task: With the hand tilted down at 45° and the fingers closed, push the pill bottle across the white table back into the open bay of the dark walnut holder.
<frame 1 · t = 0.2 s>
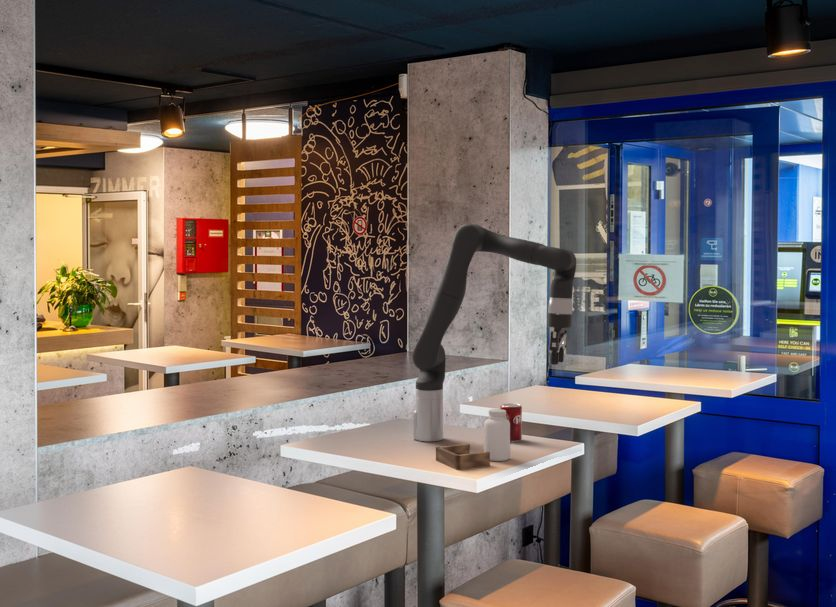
hand: (557, 363, 289), 28 cm above the table, tool pointing down, fingers open, 8 cm apart
holder: (464, 462, 275), on the table
pill bottle: (496, 459, 280), on the table
soda can: (510, 441, 307), on the table
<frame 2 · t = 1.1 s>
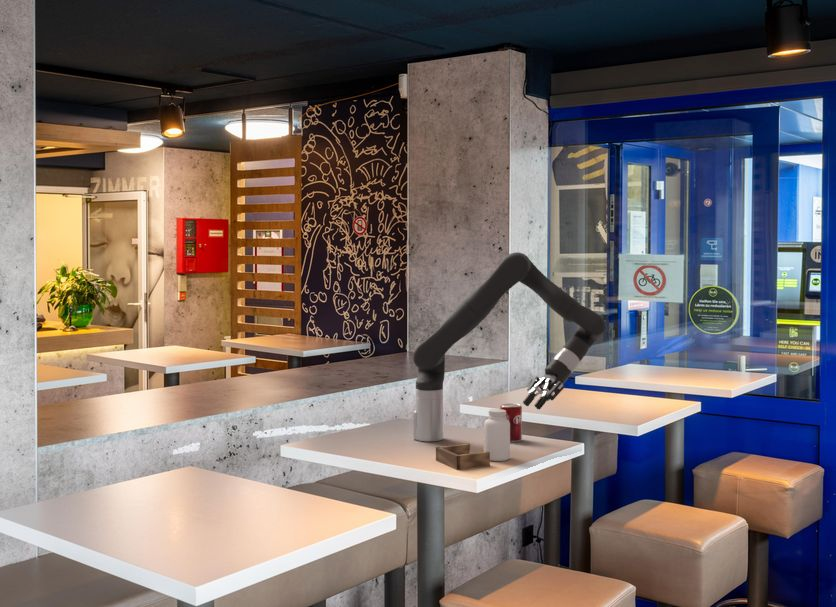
hand: (530, 405, 284), 15 cm above the table, tool tilted 45°, fingers open, 6 cm apart
nothing on the table moved.
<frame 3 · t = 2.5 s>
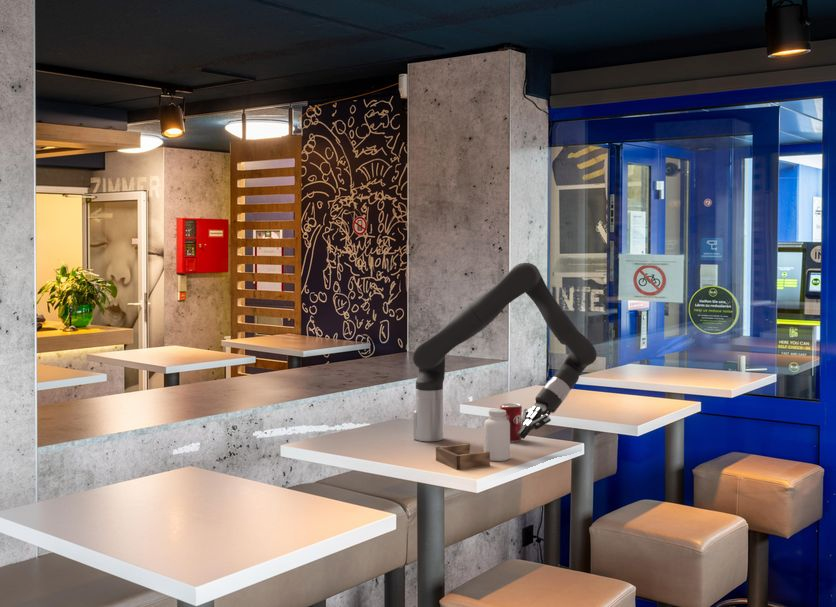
hand: (520, 436, 283), 6 cm above the table, tool tilted 45°, fingers closed
nothing on the table moved.
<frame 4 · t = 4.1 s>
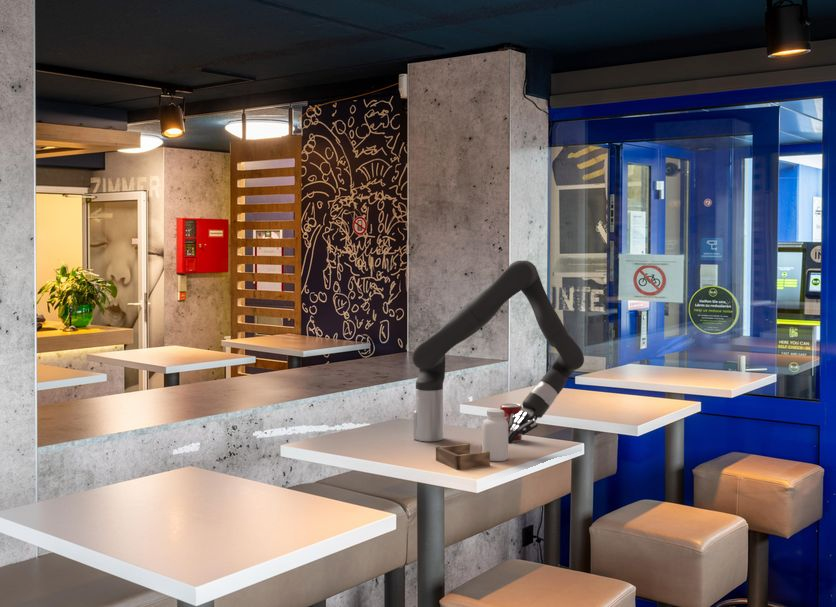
hand: (507, 441, 281), 5 cm above the table, tool tilted 45°, fingers closed
pill bottle: (495, 459, 280), on the table, touching gripper
everything else where it was.
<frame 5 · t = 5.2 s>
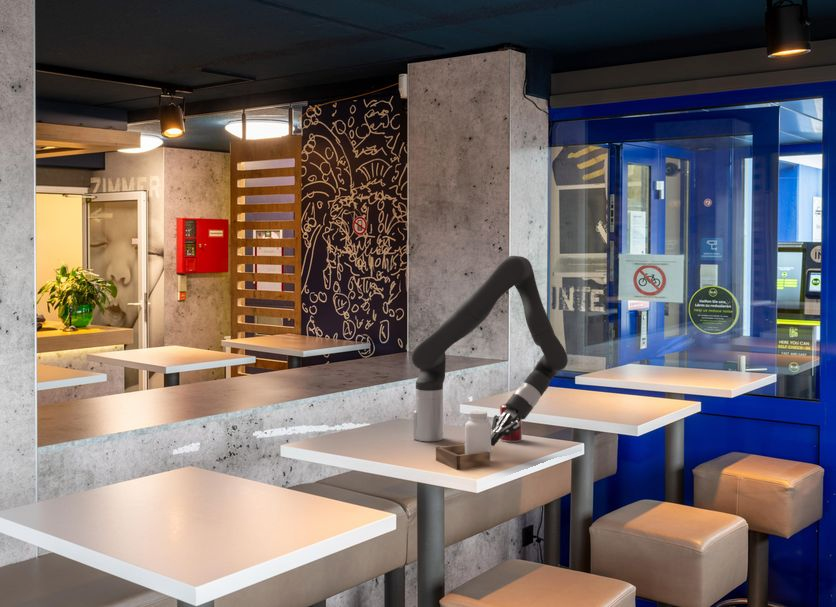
hand: (490, 443, 278), 5 cm above the table, tool tilted 45°, fingers closed
pill bottle: (477, 461, 277), on the table, touching gripper
everything else where it was.
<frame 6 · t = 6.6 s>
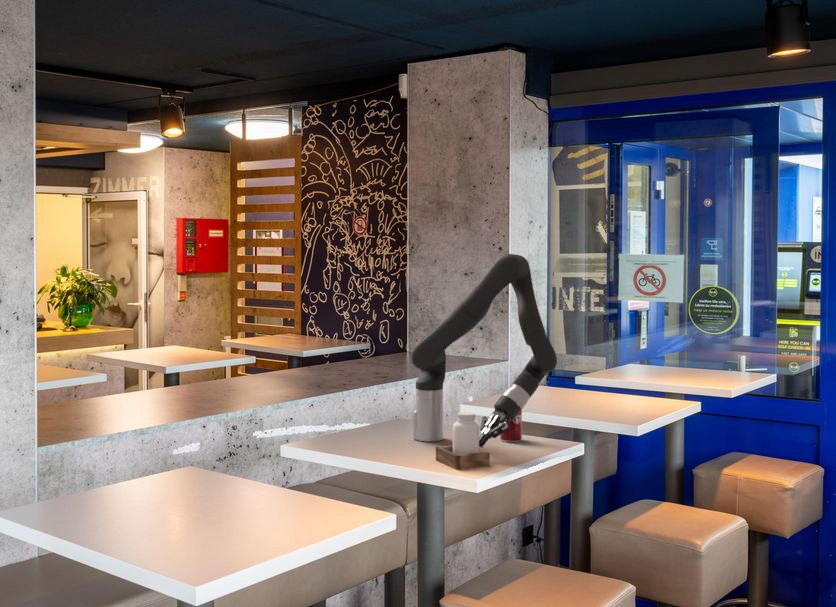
hand: (478, 445, 277), 5 cm above the table, tool tilted 45°, fingers closed
pill bottle: (465, 463, 275), on the table, touching gripper
everything else where it was.
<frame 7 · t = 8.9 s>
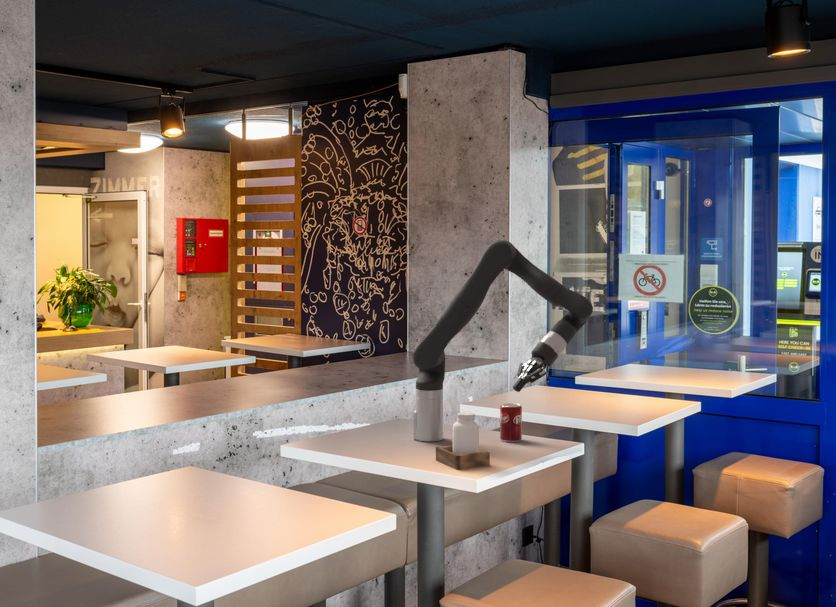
hand: (515, 389, 282), 21 cm above the table, tool tilted 45°, fingers closed
pill bottle: (465, 463, 275), on the table
everything else where it was.
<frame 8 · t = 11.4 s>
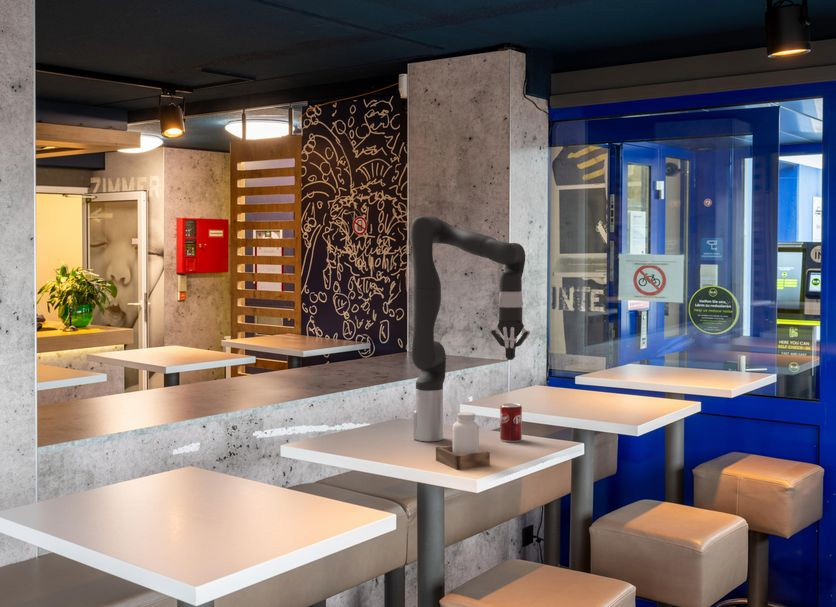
hand: (510, 359, 291), 29 cm above the table, tool pointing down, fingers closed
nothing on the table moved.
at the end: pill bottle 0.5 cm from the holder (horizontally); pill bottle tilted 0° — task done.
